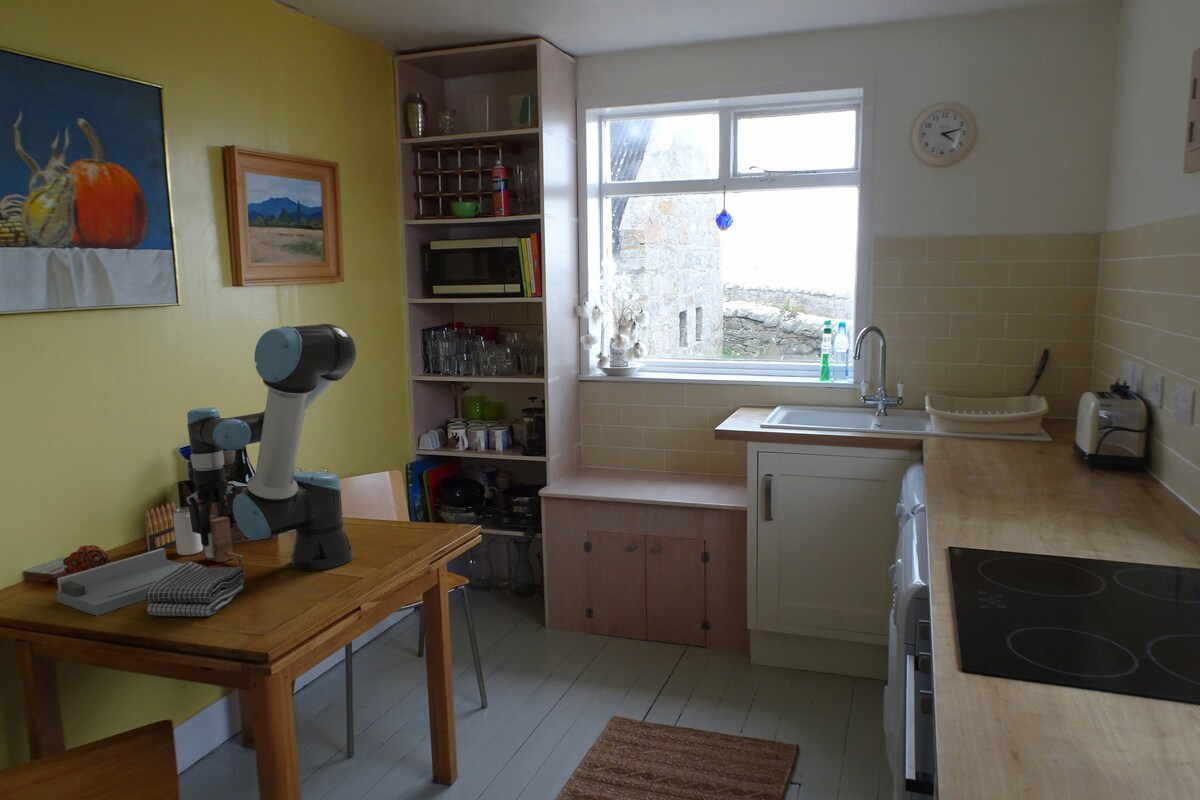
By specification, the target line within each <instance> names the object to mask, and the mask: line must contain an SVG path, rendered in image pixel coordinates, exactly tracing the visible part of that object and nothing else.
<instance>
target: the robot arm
mask: <svg viewBox="0 0 1200 800" xmlns="http://www.w3.org/2000/svg"><path fill="white" fill-rule="evenodd" d="M356 347H357V346H356V343H355V341H354V339H353V337H352V335H350V333H348V331H346V330H345V329H344V328H342V327H340V326H338V325H336V324H331V323H321V324H320V323H319V324H312V325H311V324H310V325H299V326H298V325H297V326H296V325H295V326H288V325H286V326H281V327H277V328H271V329H269V330H267V331H266V332H264V333H262V335H261V336H260V337H259V339H258V340H257V344H256V345H255V349H254V356H253V357H254V363H256V364H255V369H256V371H257V374H258V376H259V377H260V378H262V383H263V384H264V385H265V387H267V397H266V402H265V409H264V410H263V411H262V412H255V413H249V414H245V415H238V416H231V417H221V415H220V411H219V410H218V408H216V407H199V408H193V409H190V410H189V411H188V412H187V415H186V416H187V424H186V425H187V426H186V427H187V429H188V430H187V431H188V437H189V438H188V439H189V446H190V452H191V453H190V454H191V462H192V464H191V465H192V468H193V469H194V470H193V471H192V473H193V480H194V481H193V482H194V486H195V488H194V492H193V493H192V494H191V495H189V496H188V495H187V496H185V498H184V500H185V502H186V504H187V507H189V513H190V519H191V526H192V532H194V533H198V534H200V535H201V544H202V546H205V554H206V557H209V558H214V550H213V541H212V533H208V532H209V521H210V516H211V509H212V507H213V504H215V507H216V510H217V513H218V516H223V517H228V518H229V521H230V530H231V531H232V528H233V527H234V524H236V525H237V527H238V528H239V530H240V531H241V533H242V534H243V535H244V536H245V537H247V538H248V539H249V540H253V541H258V540H262V539H270V538H271V537H273V536H277V535H280V534H285V533H287V532H291V531H294V530H295V539H294V544H293V549H292V553H291V556H290V557H291V558H290V559H291V566H292V567H293V568H294V569H296V570H299V571H300V570H301V571H317V570H318V571H319V570H320V571H321V570H329V569H332V568H337V567H339V566H342V565H345V564H347V563H349V562H350V561H351V560H353V558H354V553H353V547H352V545H351V542H350V540H349V537H348V536H347V535H348V534H347V533H346V531H345V528H344V517H343V507H342V506H343V505H342V494H341V493H342V488H341V484H340V479H339V476H338V475H336V474H334V473H331V472H322V471H305V472H296V473H295V471H296V464H297V460H298V453H299V447H300V441H301V437H302V436H301V435H302V430H303V425H304V419H305V413H306V410H307V409H308V408H309V407H310V406H311V405H312V404H313V403H314V402H315V401H316V400H317V399H318V398H319V397H320V396H321V395H322V394H323V393H324V392H325V391H326V389H328V387H330V385H331V384H333V382H337V381H341V380H342V379H343V378H344V377H345V376H346V375H347V374H348V372H350V370H351V369H352V367H353V366H354V364H355V362H356V358H357V348H356ZM258 443H259V448H258V455H257V456H258V457H257V462H256V469H255V474H254V475H252V476H250V477H249V478H248V480H247V481H246V482H247V483H246V489H245V492H244V493H243V492H242V493H239V494H237V491H238V487H237V486H234V485H228V484H227V482H226V479H227V478H226V477H227V476H226V469H225V466H224V465H225V458H224V457H225V456H224V450H228V451H231V450H240V449H242V448H244V447H246V446H247V445H252V444H258ZM225 494H226V495H225ZM236 495H237V496H236ZM224 496H225V497H226V499H225V497H224ZM198 499H199V500H198ZM199 501H200V502H199ZM198 502H199V504H198ZM199 507H200V508H199ZM199 509H200V510H199ZM232 537H233V536H232V534H231V538H232Z"/></svg>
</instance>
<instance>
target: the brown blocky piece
mask: <svg viewBox="0 0 1200 800" xmlns="http://www.w3.org/2000/svg"><path fill="white" fill-rule="evenodd" d="M208 533H212V541H213V550H214V558H209V557H206V554H205V546H203V550H202V551H203V560H206V559H207V560H206V561H210V560H212V561H211V562H214V561H216V562H215V563H218V562H219V564H221V563H224V562H226V561H230V560H233V559H236V560H238V564H239V565H240V564H242V560H243V558H244V556H243V555H242V554H239V553H235V552H234V551H233V542H232V541H233V539H232V537H231V535H232V529H231V530H230V521H229V518H228V517H223V516H219V514H218V515H216V514H212V515H211V514H210V521H209V532H208ZM232 558H233V559H232ZM229 559H230V560H229ZM223 561H224V562H223ZM220 562H221V563H220Z"/></svg>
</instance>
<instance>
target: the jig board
mask: <svg viewBox="0 0 1200 800" xmlns="http://www.w3.org/2000/svg"><path fill="white" fill-rule="evenodd" d="M166 553H167V551H166V548H165V549H163V548H161V549H157V550H154V551H150V552H147V553H146V552H143V553H141V554H138V555H134V556H131V557H127V558H122V559H119V560H117V561H113V562H109V563H108V564H106V565H102V566H99V567H95V568H92V569H88V570H85V571H82V572H78V573H76V572H75V573H73V574H71V573H70V574H69V575H65V576H61V577H58V578H57V579H56V580H57V587H58V588H57V589H58V590H57V591H56V593H55V594H56V601H57V603H60V604H63V605H65V606H68V607H72V608H74V609H76V610H79V611H82V612H85V613H87V614H90V615H94V616H95V615H96V616H95V617H98V615H99V616H101V614H102V615H104V613H105V614H107V612H108V613H110V611H111V612H113V610H114V611H116V609H117V610H119V609H118V608H120V609H122V608H121V607H123V608H125V606H126V607H128V606H127V605H129V606H131V605H130V604H132V605H134V603H135V604H137V602H138V603H140V601H141V602H143V600H144V601H147V600H146V599H145V598H146V597H145V595H146V593H147V592H148V589H149V587H150V586H151V585H152V584H153V583H155V582H156V581H158V580H160V579H161V578H163V577H164V576H165V575H167V574H169V573H171V572H173V571H174V570H176V569H177V568H178V567H180V566H181V565H183V564H184V563H181V562H178V561H174V560H170V559H167V554H166Z"/></svg>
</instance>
